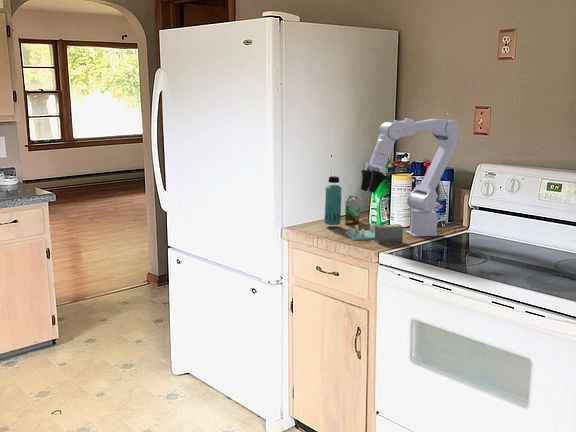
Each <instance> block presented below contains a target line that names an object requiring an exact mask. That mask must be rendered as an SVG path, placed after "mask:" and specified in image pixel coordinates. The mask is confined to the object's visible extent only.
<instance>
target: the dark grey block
mask: <svg viewBox="0 0 576 432" xmlns="http://www.w3.org/2000/svg"><path fill="white" fill-rule="evenodd" d="M374 230H375V239H374V242H375V243H376V244H378V245H386V244H385V243H392V244H402V243H403V237H404V226H402V225H401V224H400V223H395V224H375V225H374Z"/></svg>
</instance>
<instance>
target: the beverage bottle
mask: <svg viewBox="0 0 576 432" xmlns="http://www.w3.org/2000/svg"><path fill="white" fill-rule="evenodd" d="M328 183H333V184H328V185H326V187H325V203H324V204H325V205H324V214H323V215H324V218H323V219H324V224H325V225H327V226H328V225H329V226H339V225H340V224H341V220H342V186H340V185H339V184H337V183H340V177H339V176H336V175H335V176H328ZM334 183H335V184H334Z"/></svg>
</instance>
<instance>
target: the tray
mask: <svg viewBox="0 0 576 432" xmlns="http://www.w3.org/2000/svg"><path fill="white" fill-rule="evenodd" d="M354 225H355V226H354V230H353V229H352V228H348V229H347V231H344V234H345V235H346V236H347V237H349V238H350V239H351V240H353V241H362V240H363V241H366V240H368V241H369V240H370V241H371V240H375V225H374V224H370V226H369V227H370V229H369V230H365V228H362V229H361V230H359V225H358V224H354Z"/></svg>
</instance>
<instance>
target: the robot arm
mask: <svg viewBox="0 0 576 432" xmlns="http://www.w3.org/2000/svg"><path fill="white" fill-rule="evenodd" d="M377 131H378V136H377V142H376V144H375V146H374V147H375V148H374V150H373V152H372V154H371V157H370V161H369V162H365V166H366V167H365V168H364V169H361V185H360V190H361V191H364V192H370V193H372V194H375V193H376V192H377V191H378V188H379V187H380V185H381V184H382V183H383V182H384V181H385V180H386V179H387V178H388V176H387V175H385V174H386V173H387V170H388V168H386V166H387V163H388V162H389V159H390V155H391V153H392V151H393V147H394V145H395V142H396V140H399V139H400V138H405V137H410V136H414V135H415V134H416V132H418V131H419V132H420V131H430V132H431V134H432V136H433V137H434V139H435V140H436V143H438V146H439V147H438V148H437V150H436V153H435V155H434V156H433V159H432V161H431V163H430V165H429V167H428V170H427V171H426V173H425V175H424V177H423V180H422V182H421V183H420V184H418V185H417V186H415V187H414V188H413V190H412V191H411V192H410V193H409V194H408V196H407V200H406V201H407V202H406V203H407V205H408V206H409V210H410V223H409V224H410V225H409V230H405V233H407V234H409V235H411V236H412V237H413V238H416V237H435V236H438V233H437V230H438V214H437V212H436V211H435V210H434V209H435V207H436V204H437V199H438V197H439V195H438V193H437V191H436V189H437V187H438V185H439V182H440V180H441V178H442V177H443V174H444V172H445V170H446V168H447V165H448V164H449V162H450V160H451V158H452V157H453V153H454V151H455V149H456V147H457V140H458V138H459V136H460V134H461V133H462V131H461V127H460V124H459V122H458V121H457V120H455V119H442V118H428V119H424V120H419V121H415V120H413V119H410V118H409V117H406V118H404V120H398V119H397V120H396V119H395V120H393V121H392V122H389V121H386V122H383V123H382V124H381V125H380V126H378V129H377Z"/></svg>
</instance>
